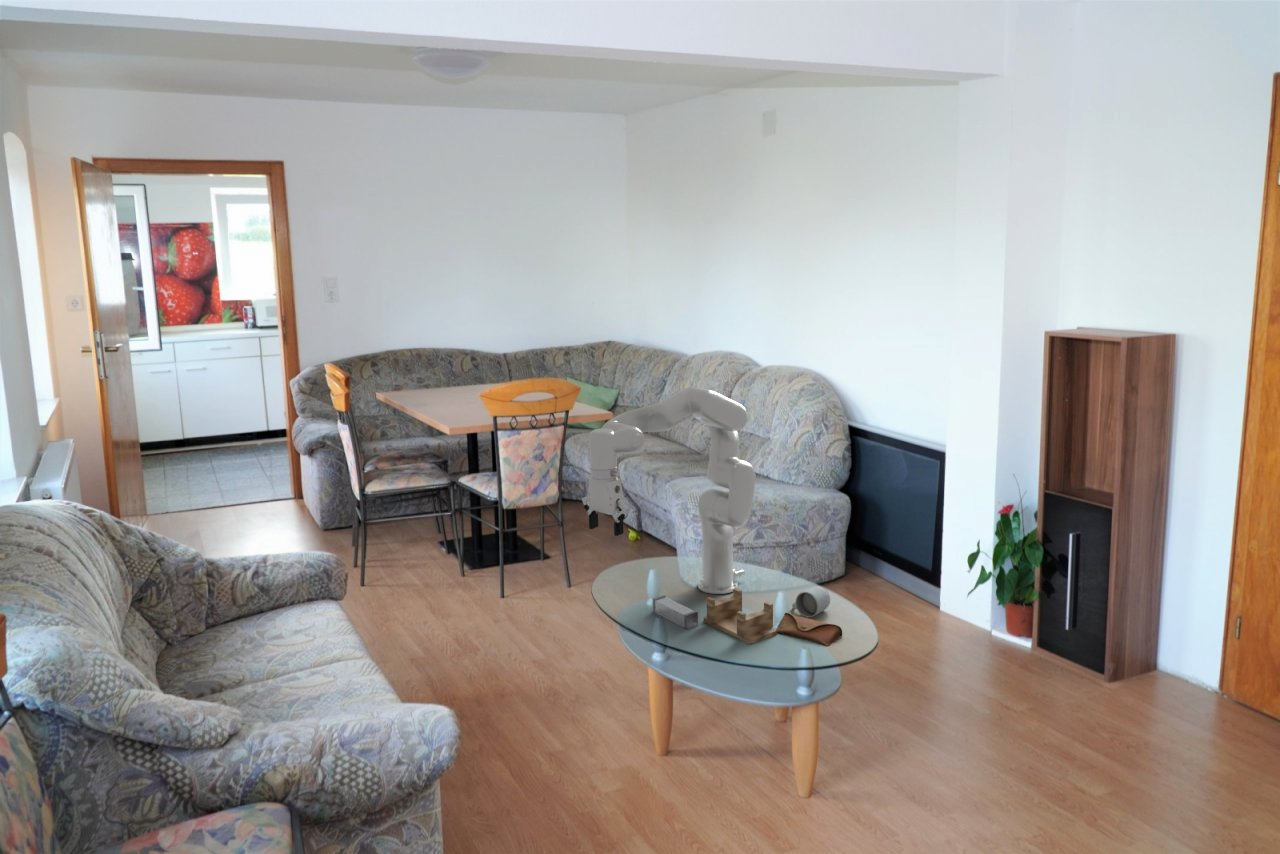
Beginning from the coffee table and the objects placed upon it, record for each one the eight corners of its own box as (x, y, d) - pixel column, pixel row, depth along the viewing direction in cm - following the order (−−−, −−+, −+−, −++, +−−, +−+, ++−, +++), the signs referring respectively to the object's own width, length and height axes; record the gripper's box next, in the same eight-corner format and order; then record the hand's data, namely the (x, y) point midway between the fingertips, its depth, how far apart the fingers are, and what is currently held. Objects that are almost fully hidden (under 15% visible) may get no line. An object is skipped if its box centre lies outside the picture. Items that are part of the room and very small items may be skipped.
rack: (731, 611, 302) (731, 585, 300) (778, 633, 286) (778, 606, 284) (701, 621, 296) (701, 595, 294) (748, 645, 280) (748, 617, 278)
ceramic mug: (832, 611, 300) (831, 586, 299) (817, 620, 294) (817, 595, 293) (801, 603, 307) (800, 579, 305) (786, 612, 301) (785, 587, 299)
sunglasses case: (770, 632, 287) (776, 609, 289) (780, 636, 293) (786, 613, 294) (830, 647, 277) (835, 622, 279) (839, 650, 283) (844, 627, 284)
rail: (664, 608, 306) (663, 595, 305) (698, 625, 294) (697, 611, 293) (652, 611, 304) (652, 598, 303) (686, 629, 291) (686, 615, 290)
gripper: (636, 474, 282) (638, 533, 286) (591, 465, 293) (593, 522, 297) (617, 481, 277) (620, 541, 281) (572, 471, 288) (575, 528, 292)
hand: (606, 531), depth 289 cm, fingers open, 9 cm apart
